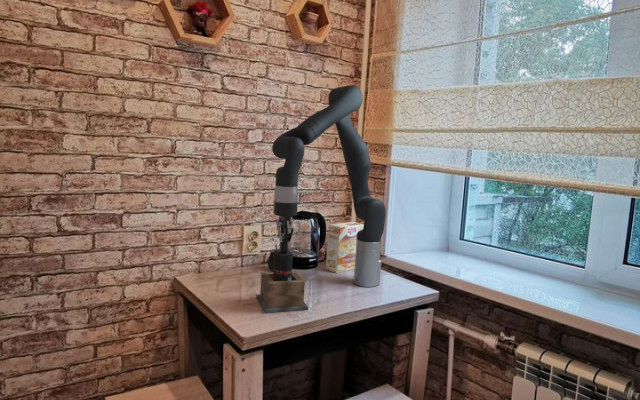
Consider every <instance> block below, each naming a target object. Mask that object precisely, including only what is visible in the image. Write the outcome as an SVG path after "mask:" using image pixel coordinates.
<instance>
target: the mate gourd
mask: <svg viewBox="0 0 640 400" xmlns="http://www.w3.org/2000/svg"><path fill="white" fill-rule="evenodd" d="M274 246H275V249H272V250H270V251H269V257H268V259H267V266H268V269H269V271H271V272H274V252H276V251H280V249H278V246H277V243H275V244H274Z"/></svg>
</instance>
